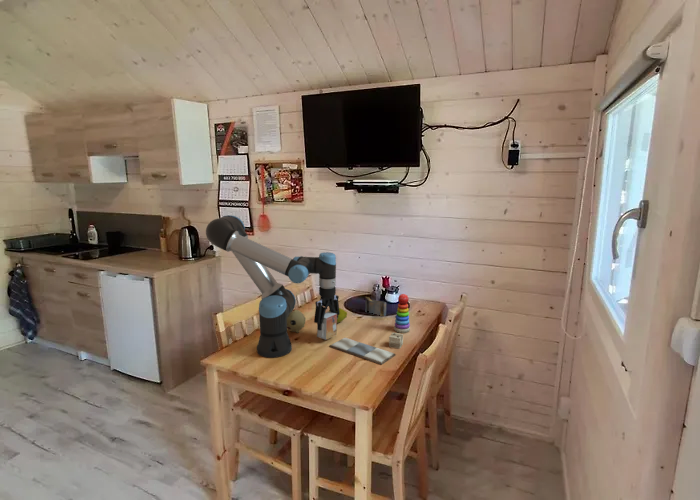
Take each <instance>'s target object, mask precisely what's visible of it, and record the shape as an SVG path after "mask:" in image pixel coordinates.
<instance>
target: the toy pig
mask: <svg viewBox="0 0 700 500" xmlns="http://www.w3.org/2000/svg"><path fill="white" fill-rule="evenodd" d="M305 323H306V317H305V314H304V313H303V312H302V311H301V310H299V309H293V311H292V312H291V313H290V315H289V316H288V318H287V332H288V331H289V332H293V333H294V332H295V333H297V334H299V333H300V330H302V329H303V328H304V327H305Z"/></svg>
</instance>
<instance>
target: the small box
mask: <svg viewBox="0 0 700 500" xmlns="http://www.w3.org/2000/svg"><path fill="white" fill-rule="evenodd" d="M322 323H324V337H321V336H318V324H317V323H316V324H317V325H316V328H317V330H316V332H317V333H316V337H317V338H320V339H323V340H325V341H326V340H328V339H330V338H332V337H335V336H337V334H338V333H337V330H338V325H337V324H338V323H337V314H336V313H332V312H329V310H327V311H326V312H325V315H324V319H323V322H322Z"/></svg>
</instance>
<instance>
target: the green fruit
mask: <svg viewBox="0 0 700 500" xmlns="http://www.w3.org/2000/svg"><path fill="white" fill-rule="evenodd" d="M328 311H329V312H330V309H329V310H328ZM336 312H337V311H336ZM339 312H340V314H339V315H338V318H337V324H339V323H342V322H343V321H345V319H346V318H347V316H348V312H347V311H346V310H344V309H343V308H340V307H339Z"/></svg>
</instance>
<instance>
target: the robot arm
mask: <svg viewBox="0 0 700 500" xmlns="http://www.w3.org/2000/svg"><path fill="white" fill-rule="evenodd" d="M245 229H246V227H245V224H244V222H243V220H242V219H241V218H239V216H237V215H223V216H222V217H221V216H220V217H219V218H215V219H212V220H211V221H210V222H209V223H208V224H207V225H206V229H205V236H206V238H207V240H208V242H210V243H211V244H212V245H213V246H215V247H216V248H219V249H221V250H223V251H225V252H228V253H229V252H231V253H232V254H233V255H234V257H235V258H236V259H237V261H238V262H239V264H240V265H241V267H242V268H243V269H244V271H245V272H246V273H247V275H248V276H249V278H250V279H251V280H252V282H253V283H254V285H255V286H256V287H257V289H258V290H259V292H260V293H261V300H260V301H259V303H258V315H259V317H258V318H259V333H260V335H259V339H258V342H257V345H256V352H257V353H256V354H257V355H259V356H261V357H264V358H270V359H271V358H279V357H283V356H286V355H288V354H290V353H291V351H293V350H292V347H293V345H292V342H291V338H290V336H289V334H288V330H287V318H288V316H289V315H290V313H291V312H293V311H294V310H295V306H296V297H295V294H294V293H293V292H292V290H290V289H287V288H285V287H286V286H284V285H283V283H280V282H279V283H278V282H277V280H276V279H275V278H274V276H273V274H271V272H270V270H273V271H275V272H277V273H280V274H281V275H284V276H286V277H288V279H289V280H290V281H291V282H292V283H294V284H301V283H303V282H305V280H307V278H308V277H309V275H310V274H311V275H313V274H314V275H317V274H318V280H319V281H318V285H319V288H318V289H319V290H318V294H319V296H320V299H319V300H318V301H317V300H316V301H315V310H314V318H313V319H314V320H313V322H314V323H315V324H318V336H321V337H324V323H322V322H323V319H324V315H325V313H326V312H327V310H328V308H329V310H330V312H332V313H336V314H337V318H338V315H339V314H340V312H339V308H340V304H339V303H340V302H339V295H337V294H336V289H337V288H336V286H337V285H336V283H337V281H336V277H337V276H336V275H337V274H336V273H337V260H336V259H337V258H336V257H337V256H336V254H335V253H333V252H329V251H328V252H327V251H326V252H320V253H319V255H318V256H316V257H315V256H302V255H300V256H294V257H293V258H291V257H288V256H287V255H285V254H283V253H280V252H278V251H276V250H274V249H271V248H269V247H267V246H265V245H263V244H260V243H258V242H256V241H255V240H252V239H249V235H248V234H247V232H246V231H245ZM268 268H269V269H270V270H269V269H268ZM336 311H337V312H336Z"/></svg>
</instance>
